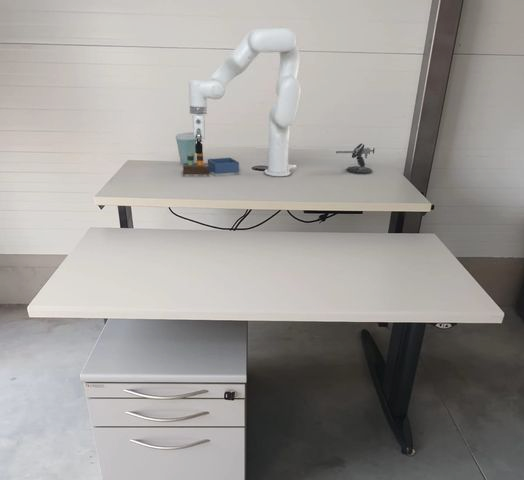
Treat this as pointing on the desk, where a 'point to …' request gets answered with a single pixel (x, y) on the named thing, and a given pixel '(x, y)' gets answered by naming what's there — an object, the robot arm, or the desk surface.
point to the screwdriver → (200, 159)
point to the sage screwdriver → (190, 158)
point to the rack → (195, 168)
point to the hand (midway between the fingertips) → (199, 151)
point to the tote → (223, 165)
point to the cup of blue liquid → (185, 145)
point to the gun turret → (359, 159)
